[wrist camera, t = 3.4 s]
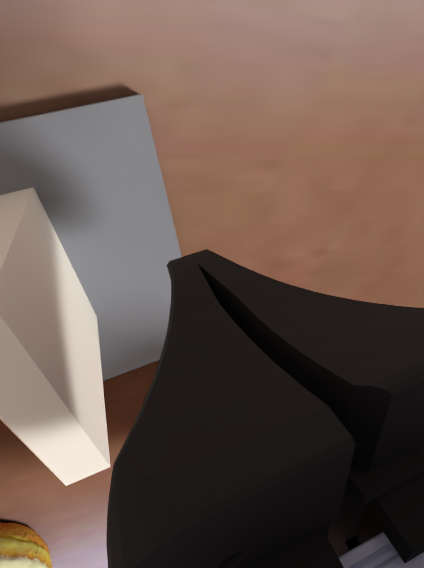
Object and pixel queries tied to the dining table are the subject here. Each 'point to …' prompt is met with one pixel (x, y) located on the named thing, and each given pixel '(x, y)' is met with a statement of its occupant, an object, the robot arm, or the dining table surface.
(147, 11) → the dining table surface
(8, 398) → the tile
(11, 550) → the decorated donut
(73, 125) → the mat
